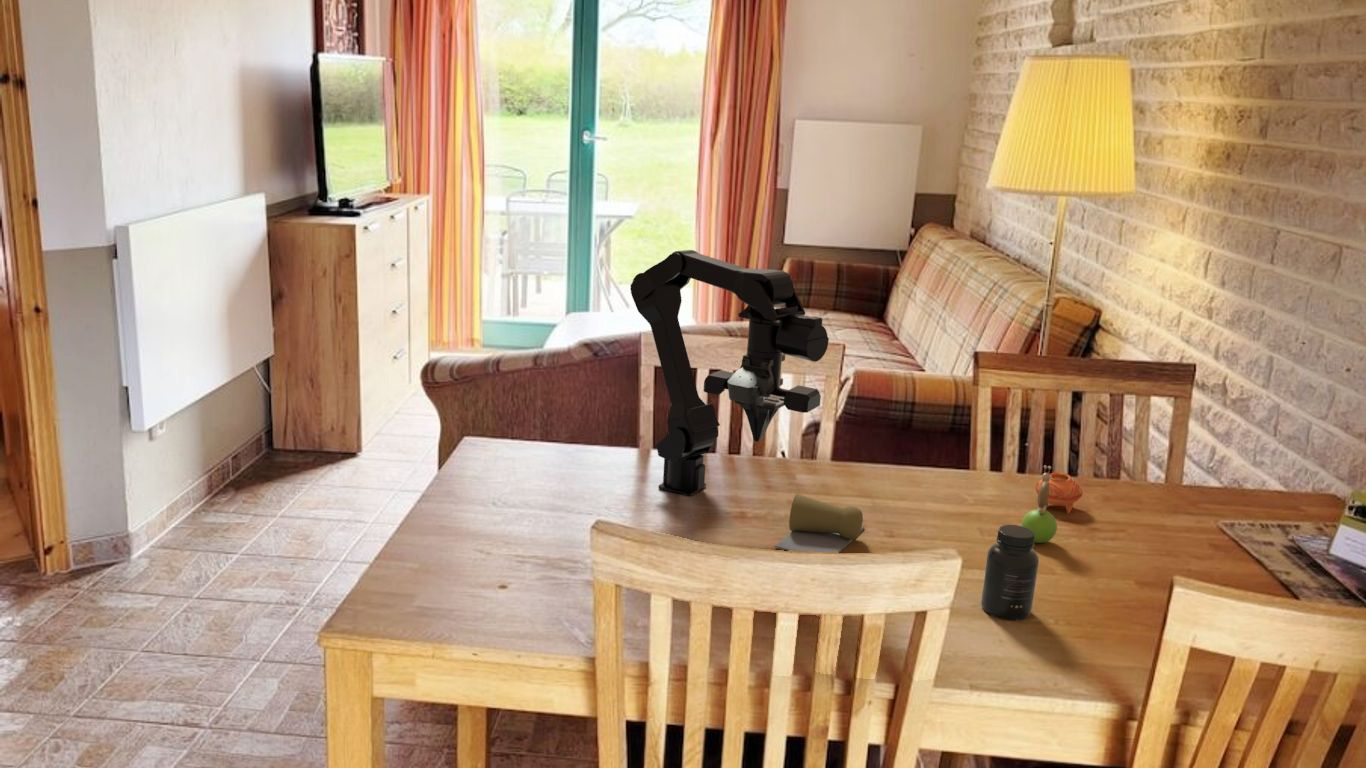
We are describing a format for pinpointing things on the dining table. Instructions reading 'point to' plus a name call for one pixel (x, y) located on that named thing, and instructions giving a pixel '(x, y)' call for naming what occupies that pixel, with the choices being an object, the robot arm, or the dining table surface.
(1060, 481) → the pot
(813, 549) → the mat
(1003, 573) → the supplement bottle
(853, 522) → the cork
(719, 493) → the dining table surface
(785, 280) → the robot arm
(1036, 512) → the snail figurine
